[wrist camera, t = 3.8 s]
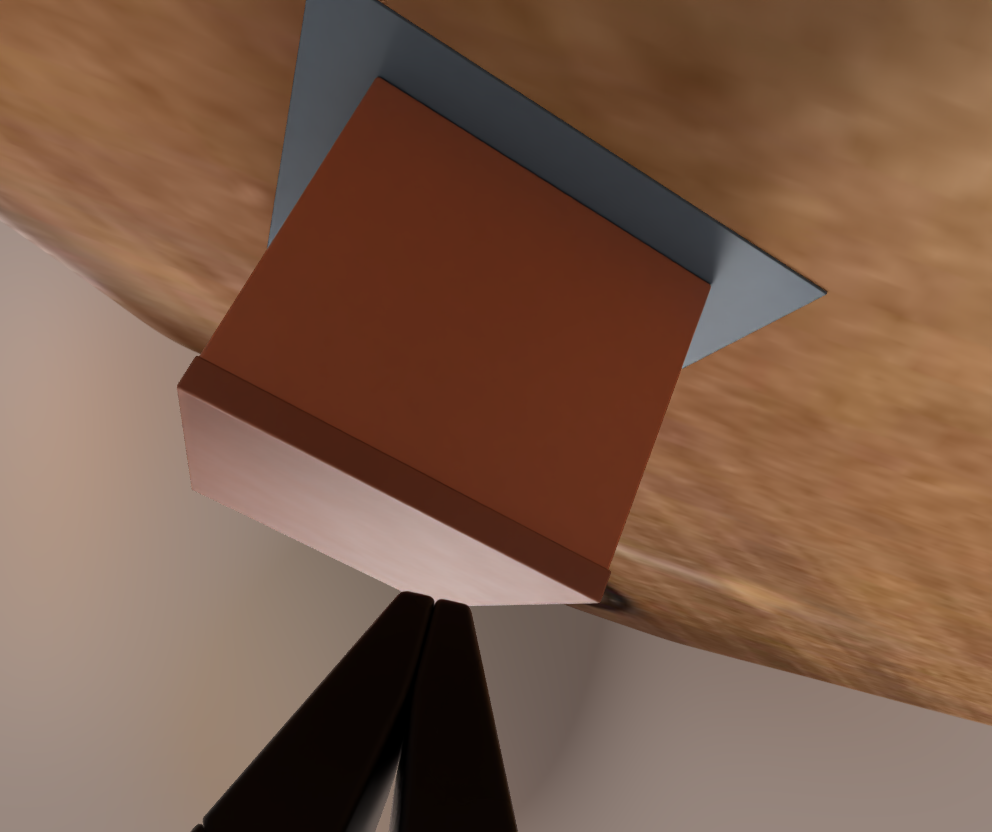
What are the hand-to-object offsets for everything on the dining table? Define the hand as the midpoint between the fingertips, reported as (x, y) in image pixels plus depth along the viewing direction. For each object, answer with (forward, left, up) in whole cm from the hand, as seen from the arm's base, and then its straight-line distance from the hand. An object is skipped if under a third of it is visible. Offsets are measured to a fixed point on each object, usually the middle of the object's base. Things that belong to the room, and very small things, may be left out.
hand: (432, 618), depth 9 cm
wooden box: (+9, +11, -12) cm, 18 cm away
